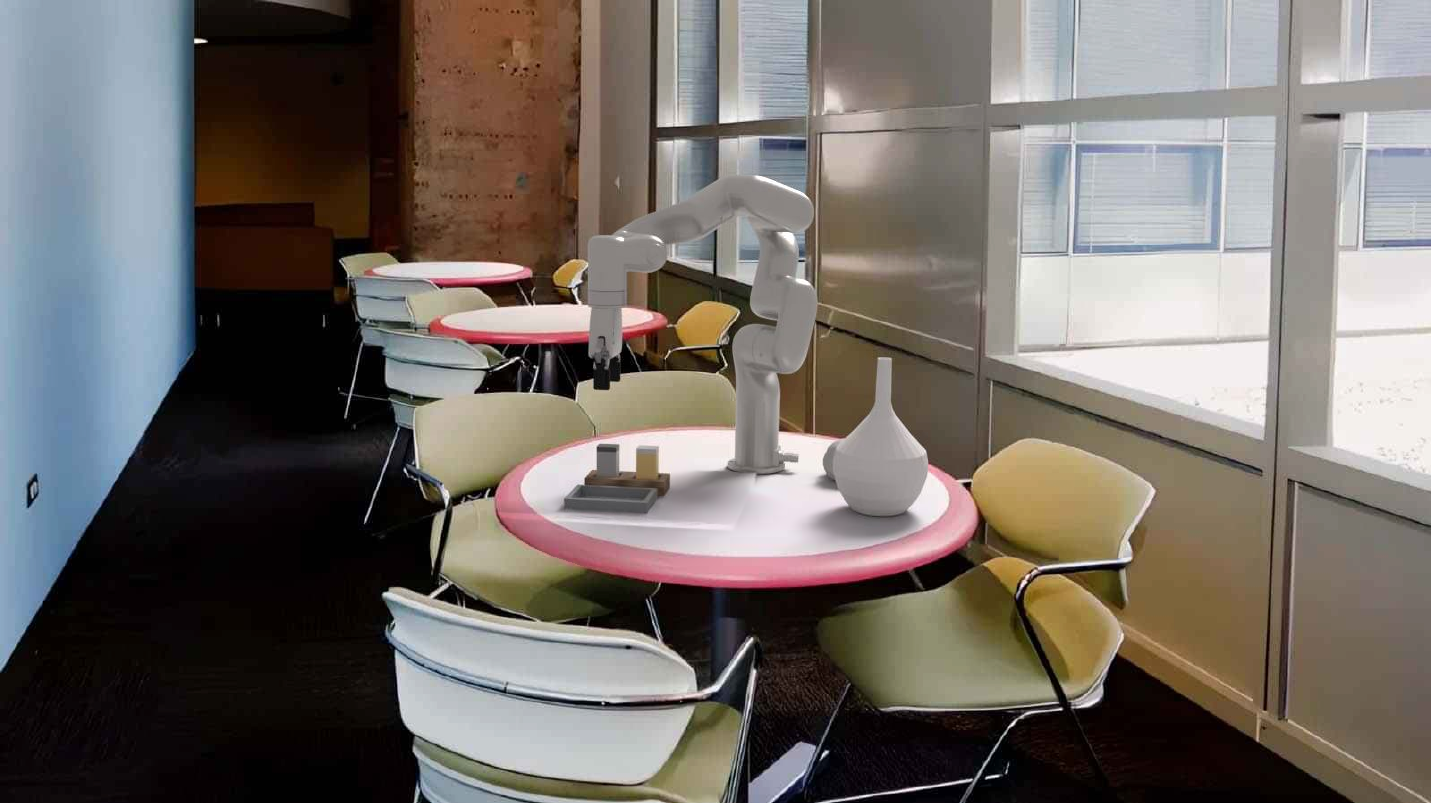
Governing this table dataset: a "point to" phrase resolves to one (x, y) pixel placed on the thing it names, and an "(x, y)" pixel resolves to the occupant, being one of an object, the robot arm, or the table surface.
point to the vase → (880, 458)
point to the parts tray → (579, 503)
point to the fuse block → (630, 481)
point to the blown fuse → (608, 460)
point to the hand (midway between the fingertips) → (607, 385)
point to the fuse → (647, 462)
